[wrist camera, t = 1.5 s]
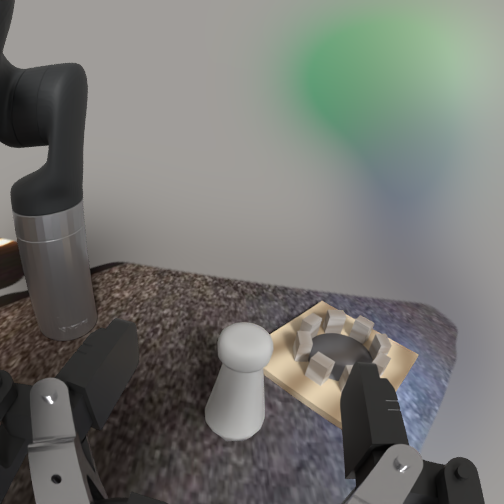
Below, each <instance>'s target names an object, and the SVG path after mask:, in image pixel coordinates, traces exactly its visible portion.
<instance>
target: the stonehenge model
mask: <svg viewBox="0 0 504 504" xmlns="http://www.w3.org/2000/svg"><path fill="white" fill-rule="evenodd" d="M373 326H374V323H373V322H372V321H370V320H368V319H366V318H364V317H362V316H361V315H360V316H359V317H358V318H357V319H356V320H355V319H353V318H351V317H350V316H348V315H346V314H345V313H344V310H337V309H335V308H334V307H332V306H330V305H328V304H326V303H325V302H323V301H321V302H320V303H318V304H317V305H315V306H314V307H312V308H311V309H309V310H307V311H306V312H304V313H303V314H301V315H300V316H298V317H297V318H295V319H293V320H292V321H290V322H289V323H287V324H286V325H284V326H282V327H281V328H279V329H278V330H276V331H274V332H273V333H271V334H270V335H271V338H272V341H273V353H272V356H271V358H270V361H269V363H268V364H267V366H265V367H264V368H263V374H264V375H265V376H266V377H268V378H269V379H270V380H272V381H273V382H274V383H276V384H277V385H278V386H280V387H281V388H283V389H284V390H285V391H287V392H288V393H289V394H291V395H292V396H294V397H295V398H296V399H298V400H299V401H301V402H302V403H303V404H305V405H306V406H308V407H309V408H311V409H312V410H313V411H315V412H316V413H318V414H319V415H321V416H322V417H324V418H325V419H327V420H328V421H330V422H331V423H333V424H334V425H336V426H337V427H339V428H340V429H342V423H341V411H340V398H341V393H342V390H343V388H344V386H345V383H346V381H347V379H348V376H349V374H350V372H351V369H352V367H353V365H354V363H355V362H363V363H375V364H376V365H377V367H378V371H379V375H380V378H387V379H388V380H389V382H390V383H391V384H392V386H393V387H394V388H395V392H396V391H397V389H398V388H399V386H400V384H401V383H402V381H403V380H404V378H405V377H406V375H407V374H408V372H409V370H410V369H411V367H412V365H413V364H414V362H415V360H416V359H417V357H418V354H416V353H414V352H413V351H411V350H409V349H407V348H405V347H404V346H402V345H400V344H398V343H396V342H395V341H393V340H391V339H389V338H388V337H387V335H386V334H380V333H378V332H377V331H375V330H373V329H372V328H373Z"/></svg>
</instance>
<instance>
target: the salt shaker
mask: <svg viewBox="0 0 504 504" xmlns="http://www.w3.org/2000/svg"><path fill="white" fill-rule="evenodd" d="M217 344H218V357H219V359H220V360H221V361H222V366H221V369H220V372H219V375H218V377H217V380H216V382H215V385H214V387H213V390H212V392H211V395H210V397H209V400H208V402H207V405H206V407H205V420H206V423H207V424H208V425H209V427H210V428H211V429H212V431H213V432H215V433H216V434H218V435H219V436H221V437H222V438H223V439H224V440H225V441H243V440H246V439H248V438H250V437H251V436H252V435H254V434H255V433H256V432H257V431H258V430H260V428H261V426H262V423H263V421H264V418H265V406H264V374H263V368H264V367H265V366H267V364H268V363H269V361H270V358H271V356H272V353H273V341H272V338H271V335H270V334H269V333H268V332H267V331H266V330H265V329H264V328H262V327H260V326H258V325H256V324H254V323H247V322H241V323H235V324H232V325H230V326H228V327H226V328H225V329H223V331H222V332H221V334H220V336H219V339H218V342H217Z"/></svg>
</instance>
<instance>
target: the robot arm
mask: <svg viewBox="0 0 504 504" xmlns="http://www.w3.org/2000/svg"><path fill="white" fill-rule="evenodd" d="M14 3H15V0H0V142H2V143H3V144H5V145H7V146H9V147H15V148H24V147H34V146H47V145H49V151H48V158H47V162H46V163H45V164H44V166H42V167H41V168H40V169H39V170H37V171H35V172H33V173H31V174H29V175H27V176H25V177H23V178H21V179H19V180H18V181H17V182H16V183H14V185H13V186H12V188H11V204H12V211H13V218H14V225H15V231H16V236H17V242H18V247H19V252H20V257H21V262H22V266H23V271H24V275H25V279H26V283H27V287H28V291H29V295H30V299H31V302H32V306H33V309H34V313H35V316H36V319H37V322H38V326H39V328H40V331H41V332H42V333H43V334H44V335H45V336H46V337H48V338H50V339H53V340H58V341H67V340H73V339H76V338H79V337H81V336H83V335H85V334H86V333H88V332H89V331H90V330H91V329H92V328H93V327H94V325H95V324H96V321H97V311H96V306H95V300H94V294H93V287H92V281H91V274H90V267H89V259H88V251H87V242H86V232H85V221H84V210H83V209H84V208H83V189H82V182H83V143H84V129H85V118H86V109H87V93H88V85H87V78H86V74H85V71H84V69H83V67H82V66H81V65H79V64H77V63H63V64H56V65H55V64H54V65H48V66H41V67H34V68H29V69H20V68H16V67H15V66H13V65H12V64H11V63H10V62H9V61H8V60H7V59H6V57H5V56H4V54H3V48H4V44H5V41H6V38H7V34H8V31H9V28H10V24H11V20H12V15H13V9H14ZM138 362H139V347H138V338H137V329H136V325H135V323H134V322H130V321H126V320H122V319H118V318H115V319H114V320H113V321H112V322H111V323H110V324H109V326H108V327H107V328H106V329H104V328H100V329H98V330H96V331H95V332H93V333H91V334H90V335H89V336H88V337H87V338H86V340H85V341H84V342H83V345H81V346H80V347H79V348H78V349H77V352H75V353H74V354H73V356H72V357H71V358H70V359H69V361H68V362H67V363H66V364H65V366H64V367H63V368H62V369H61V371H60V372H59V373H58V374H57V376H56V377H55V378H45V379H42V380H40V381H38V382H37V383H35V384H34V385H33V386H31V385H25V384H18V383H14V382H13V379H12V377H11V375H10V374H9V373H8V372H6V371H4V370H0V422H1V425H0V504H1V503H2V501H3V499H4V497H5V495H6V493H7V491H8V489H9V487H10V485H11V483H12V481H13V479H14V477H15V475H16V473H17V471H18V469H19V467H20V466H21V464H22V462H23V460H24V458H25V456H26V455H27V453H28V457H29V465H30V472H31V479H32V485H33V490H34V495H35V500H36V504H168V503H166V502H163V501H159V500H156V499H153V498H150V497H146V496H143V495H140V494H137V493H134V492H131V494H130V497H129V498H108V497H107V494H106V492H105V489H104V487H103V485H102V483H101V480H100V478H99V475H98V472H97V468H96V465H95V461H94V458H93V454H92V451H91V447H90V443H89V439H88V435H87V432H88V431H89V429H90V427H93V428H95V429H98V430H100V431H101V430H102V428H103V426H104V424H105V422H106V421H107V419H108V417H109V415H110V413H111V412H112V410H113V408H114V406H115V405H116V403H117V401H118V399H119V397H120V396H121V394H122V392H123V390H124V389H125V387H126V385H127V383H128V382H129V380H130V378H131V377H132V375H133V373H134V371H135V370H136V368H137V365H138ZM397 400H398V399H397V395H396V392H395V388H394V387H393V386H392V384H391V383H390V382H389V380H388V379H387V378H380V375H379V371H378V367H377V365H376V364H375V363H363V362H355V363H354V365H353V367H352V369H351V372H350V374H349V376H348V379H347V381H346V383H345V386H344V388H343V390H342V393H341V398H340V411H341V423H342V435H343V448H344V464H345V479H356V487H355V488H354V489H353V490H352V491H351V493H350V494H349V495H348V496H347V497H346V499H345V500H344V501H343V502H342V503H341V504H485V503H484V498H483V493H482V489H481V484H480V480H479V476H478V472H477V469H476V467H475V465H474V464H473V463H472V462H471V461H470V460H468V459H466V458H462V457H457V458H453V459H451V460H450V461H449V462H448V463H447V464H446V465H443V464H437V463H433V462H429V461H425V460H423V459H422V457H421V455H420V453H419V452H418V451H417V450H416V449H415V448H413V447H411V446H409V443H408V439H407V435H406V430H405V426H404V422H403V418H402V414H401V411H400V406H399V403H398V402H397Z"/></svg>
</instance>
